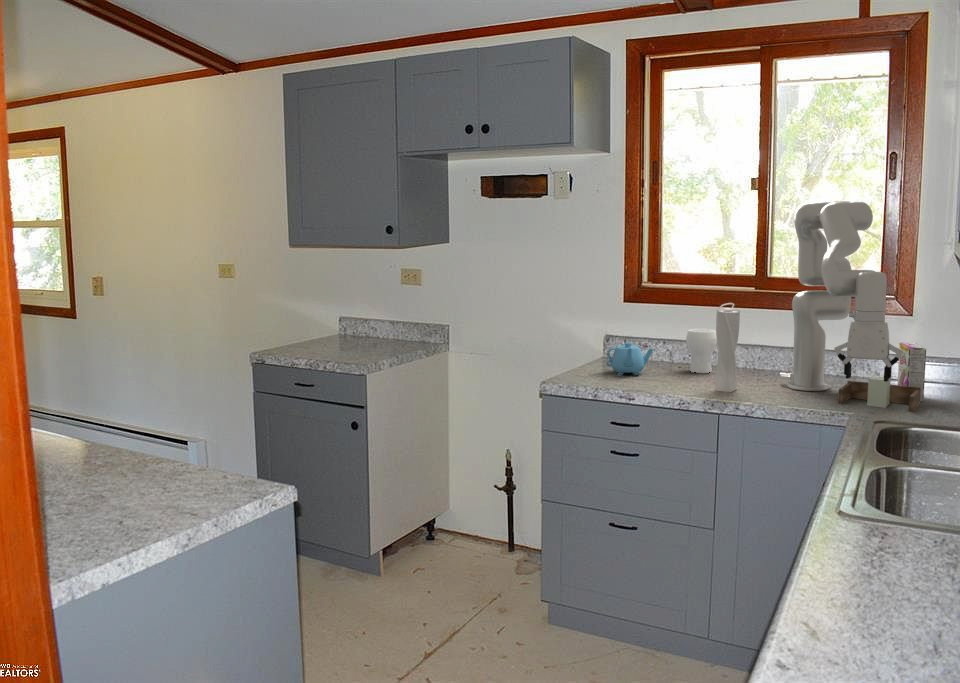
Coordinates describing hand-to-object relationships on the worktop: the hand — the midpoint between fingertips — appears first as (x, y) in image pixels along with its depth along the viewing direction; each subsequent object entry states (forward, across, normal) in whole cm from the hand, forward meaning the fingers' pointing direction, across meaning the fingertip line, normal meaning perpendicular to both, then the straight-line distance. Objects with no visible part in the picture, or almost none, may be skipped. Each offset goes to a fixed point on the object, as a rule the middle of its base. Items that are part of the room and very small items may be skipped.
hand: (867, 379), depth 232 cm
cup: (+9, -64, +45) cm, 79 cm away
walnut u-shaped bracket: (+10, 0, +21) cm, 23 cm away
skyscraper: (+10, -46, +18) cm, 50 cm away
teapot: (+9, -84, +28) cm, 89 cm away
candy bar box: (+10, +6, +35) cm, 37 cm away
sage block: (+10, 0, +20) cm, 22 cm away
